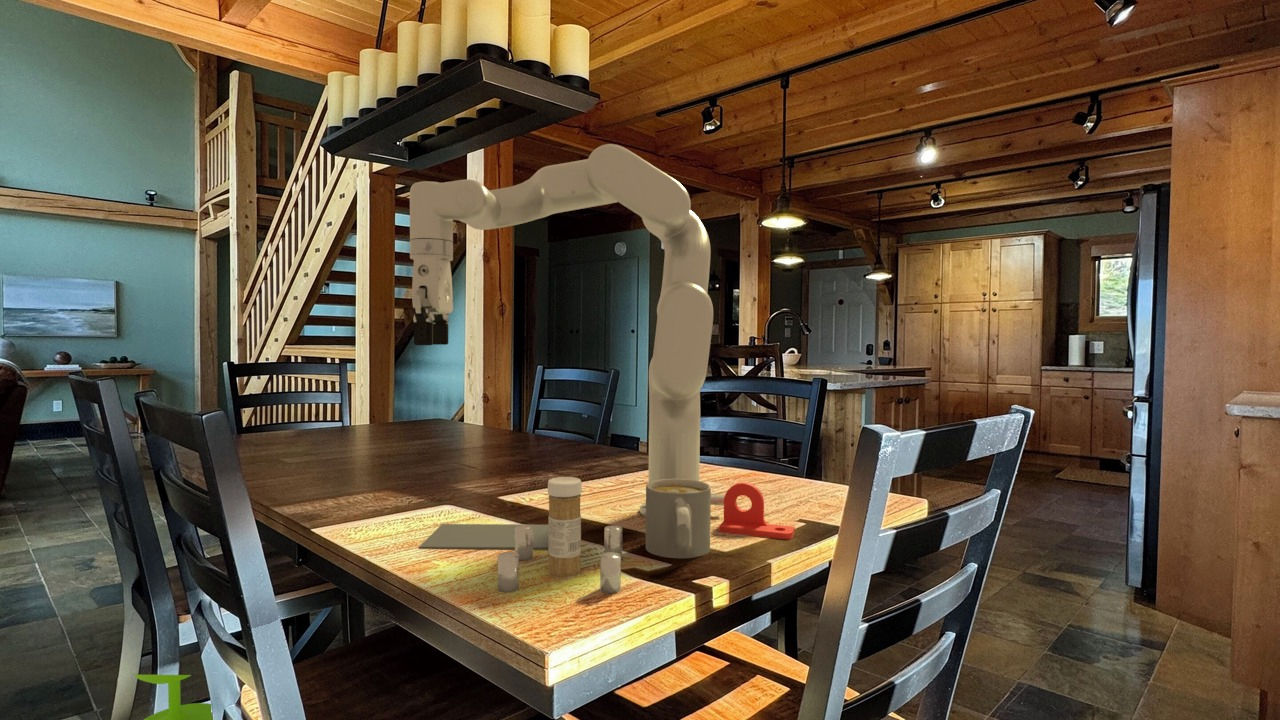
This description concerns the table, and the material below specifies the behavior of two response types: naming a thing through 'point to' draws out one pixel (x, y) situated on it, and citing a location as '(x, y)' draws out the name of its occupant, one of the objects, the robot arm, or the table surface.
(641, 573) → the table surface
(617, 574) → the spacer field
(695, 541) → the coffee mug
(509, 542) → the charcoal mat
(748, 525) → the bracket
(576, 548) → the sprinkles bottle
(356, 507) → the table surface
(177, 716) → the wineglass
